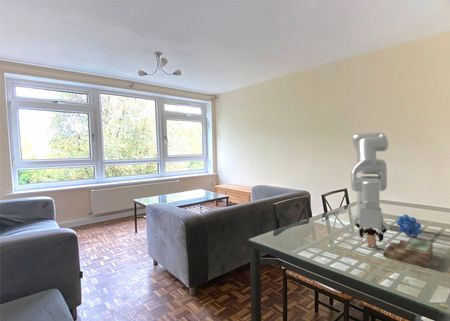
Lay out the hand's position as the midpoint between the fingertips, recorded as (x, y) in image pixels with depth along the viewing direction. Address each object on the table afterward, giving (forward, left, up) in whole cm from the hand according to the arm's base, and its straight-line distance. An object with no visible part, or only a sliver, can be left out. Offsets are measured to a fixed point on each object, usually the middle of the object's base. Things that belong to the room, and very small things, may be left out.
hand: (371, 238), depth 121 cm
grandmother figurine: (0, 0, -4) cm, 4 cm away
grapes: (+11, +28, -5) cm, 30 cm away
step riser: (+15, 0, -4) cm, 16 cm away
